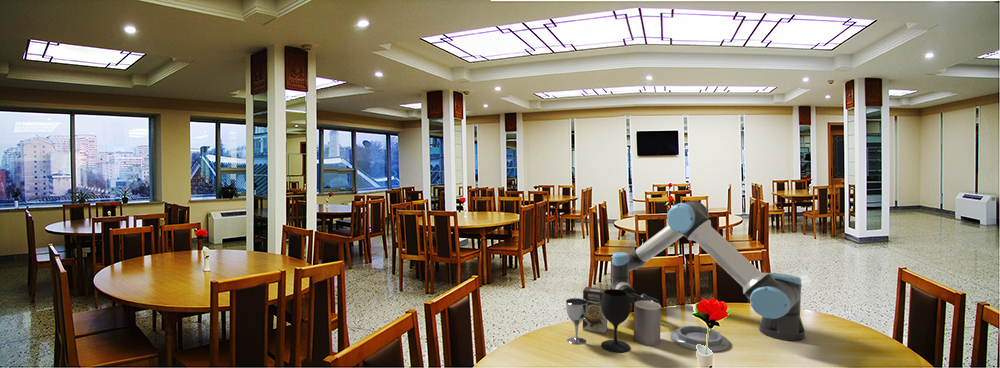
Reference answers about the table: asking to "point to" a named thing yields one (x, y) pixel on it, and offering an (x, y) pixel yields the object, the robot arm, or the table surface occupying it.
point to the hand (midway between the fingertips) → (639, 309)
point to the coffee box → (594, 310)
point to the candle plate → (699, 338)
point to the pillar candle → (647, 322)
